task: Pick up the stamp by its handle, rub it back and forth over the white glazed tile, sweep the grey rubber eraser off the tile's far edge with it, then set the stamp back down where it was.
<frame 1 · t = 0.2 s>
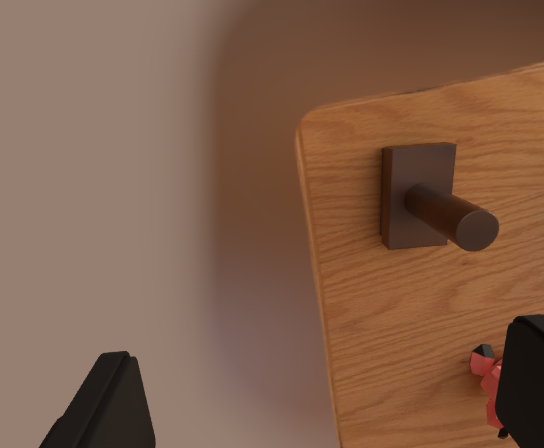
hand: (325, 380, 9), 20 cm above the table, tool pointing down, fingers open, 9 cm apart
cat figurine: (487, 364, 34), on the table
stamp: (405, 190, 28), on the table
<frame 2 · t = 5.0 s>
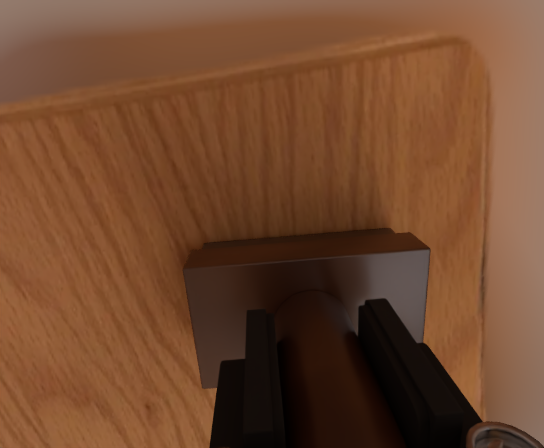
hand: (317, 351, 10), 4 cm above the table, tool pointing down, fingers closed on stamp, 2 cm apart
stamp: (299, 282, 14), on the table, touching gripper
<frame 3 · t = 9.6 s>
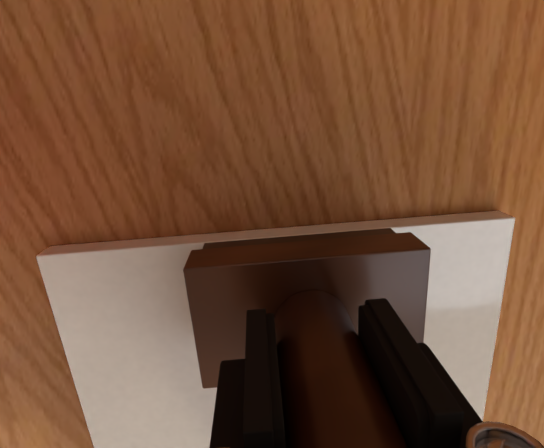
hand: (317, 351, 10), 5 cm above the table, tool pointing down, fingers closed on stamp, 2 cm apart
tile: (288, 387, 17), on the table
stamp: (300, 282, 14), point 1 cm above the table, touching gripper, tile
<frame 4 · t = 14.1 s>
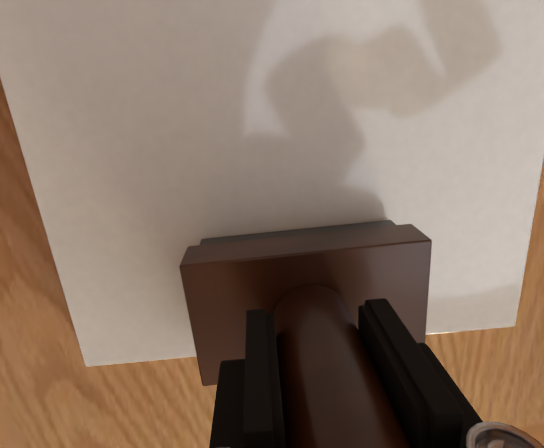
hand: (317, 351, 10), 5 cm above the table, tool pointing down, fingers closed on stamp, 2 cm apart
tile: (290, 149, 13), on the table
stamp: (299, 277, 14), point 1 cm above the table, touching gripper
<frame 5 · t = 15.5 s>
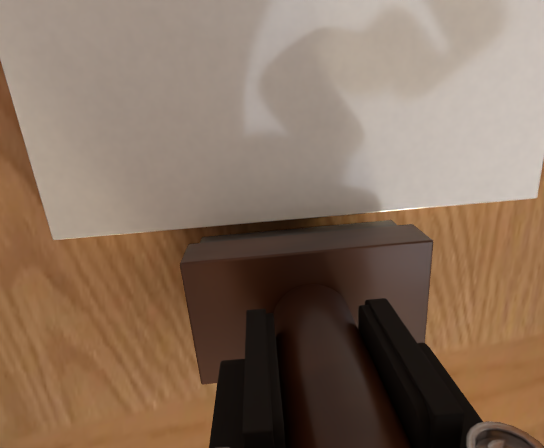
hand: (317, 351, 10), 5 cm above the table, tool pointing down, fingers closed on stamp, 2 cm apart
stamp: (299, 276, 14), point 1 cm above the table, touching eraser, gripper
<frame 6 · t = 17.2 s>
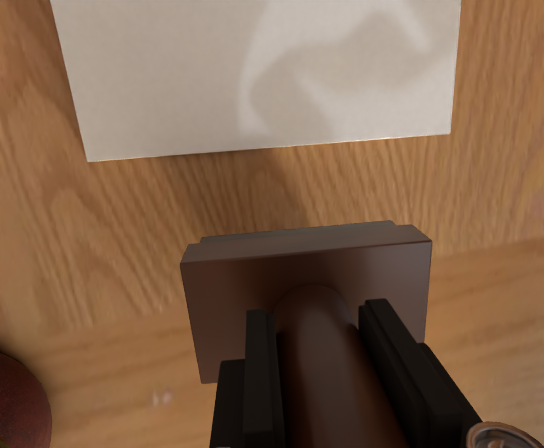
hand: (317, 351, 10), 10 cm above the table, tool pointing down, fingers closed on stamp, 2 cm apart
stamp: (299, 276, 14), point 6 cm above the table, touching gripper
when the fingers open (4 cm above the table, at t = 23.3 s): stamp stays where it is, on the table.
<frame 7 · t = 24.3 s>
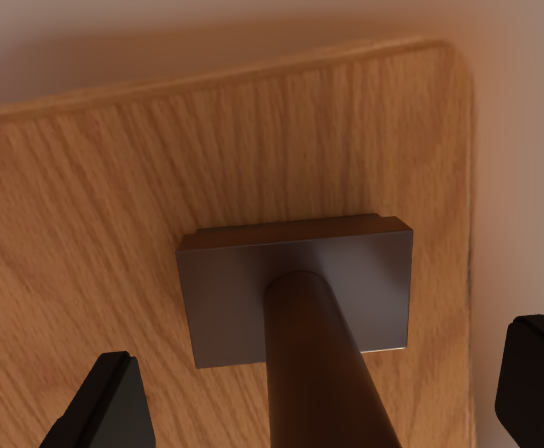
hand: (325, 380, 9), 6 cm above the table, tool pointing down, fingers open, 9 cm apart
stamp: (290, 268, 14), on the table
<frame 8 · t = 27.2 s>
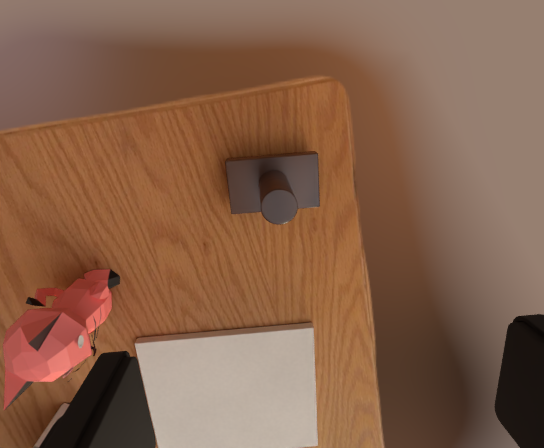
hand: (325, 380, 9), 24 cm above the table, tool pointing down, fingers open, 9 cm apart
ink box: (78, 432, 40), on the table
cat figurine: (95, 287, 35), on the table
tile: (233, 391, 39), on the table
stamp: (272, 178, 32), on the table
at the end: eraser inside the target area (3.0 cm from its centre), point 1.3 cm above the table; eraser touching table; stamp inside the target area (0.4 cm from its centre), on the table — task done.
